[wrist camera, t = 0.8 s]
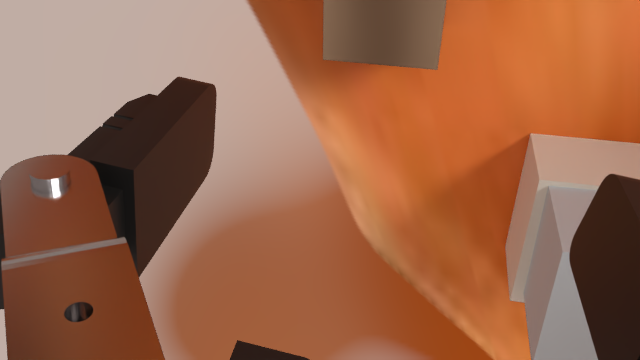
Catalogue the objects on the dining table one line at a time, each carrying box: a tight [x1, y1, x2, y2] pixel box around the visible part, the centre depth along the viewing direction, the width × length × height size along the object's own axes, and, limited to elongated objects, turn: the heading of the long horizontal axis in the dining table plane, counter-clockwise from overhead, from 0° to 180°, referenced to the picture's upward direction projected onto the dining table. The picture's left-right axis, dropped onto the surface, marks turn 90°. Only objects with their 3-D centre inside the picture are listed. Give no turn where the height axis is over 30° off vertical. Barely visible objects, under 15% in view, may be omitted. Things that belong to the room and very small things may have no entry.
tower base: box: [505, 133, 640, 303], centre depth 30 cm, size 8×8×5 cm
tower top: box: [523, 186, 598, 360], centre depth 26 cm, size 7×7×5 cm
